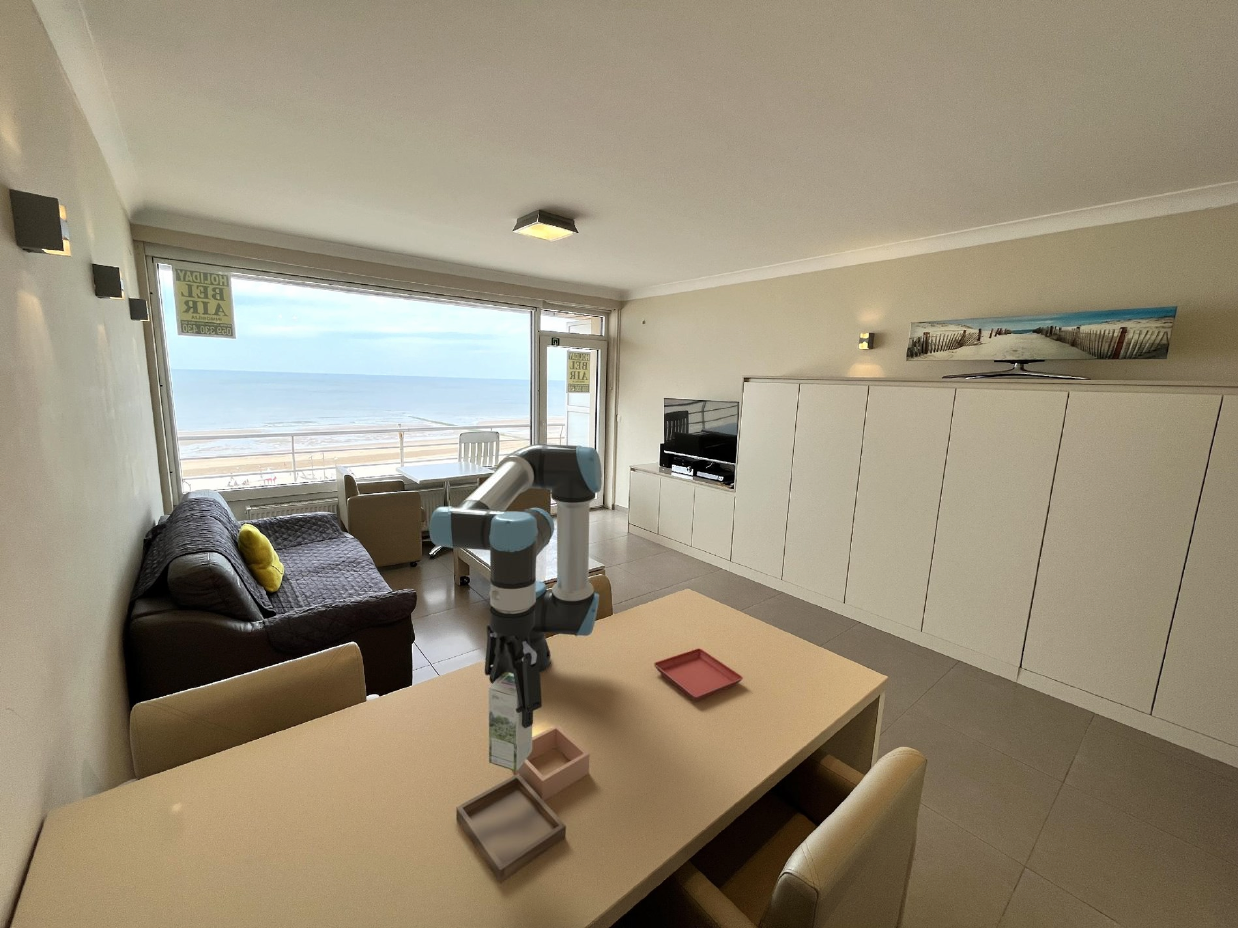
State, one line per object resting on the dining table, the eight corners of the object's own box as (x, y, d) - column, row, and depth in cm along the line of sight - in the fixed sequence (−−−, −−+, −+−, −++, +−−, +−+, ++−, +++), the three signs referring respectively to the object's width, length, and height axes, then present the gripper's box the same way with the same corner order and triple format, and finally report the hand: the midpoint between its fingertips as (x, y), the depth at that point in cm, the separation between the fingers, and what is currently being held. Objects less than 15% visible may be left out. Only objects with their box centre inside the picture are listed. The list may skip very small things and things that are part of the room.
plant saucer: (743, 687, 139) (744, 676, 139) (694, 708, 129) (695, 696, 129) (698, 657, 154) (699, 647, 153) (651, 673, 144) (652, 663, 143)
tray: (456, 818, 93) (456, 807, 93) (518, 783, 102) (518, 773, 101) (500, 883, 81) (500, 870, 81) (565, 837, 90) (565, 825, 90)
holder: (510, 767, 106) (511, 747, 105) (556, 743, 114) (556, 724, 113) (542, 801, 98) (542, 780, 97) (588, 773, 105) (589, 753, 105)
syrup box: (533, 750, 91) (534, 676, 89) (516, 773, 86) (517, 694, 84) (505, 742, 93) (506, 669, 91) (487, 764, 87) (487, 686, 85)
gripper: (464, 590, 90) (464, 708, 93) (526, 634, 75) (524, 772, 79) (502, 581, 95) (500, 693, 98) (567, 620, 80) (563, 750, 84)
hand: (511, 728), depth 89 cm, fingers closed on syrup box, 8 cm apart
